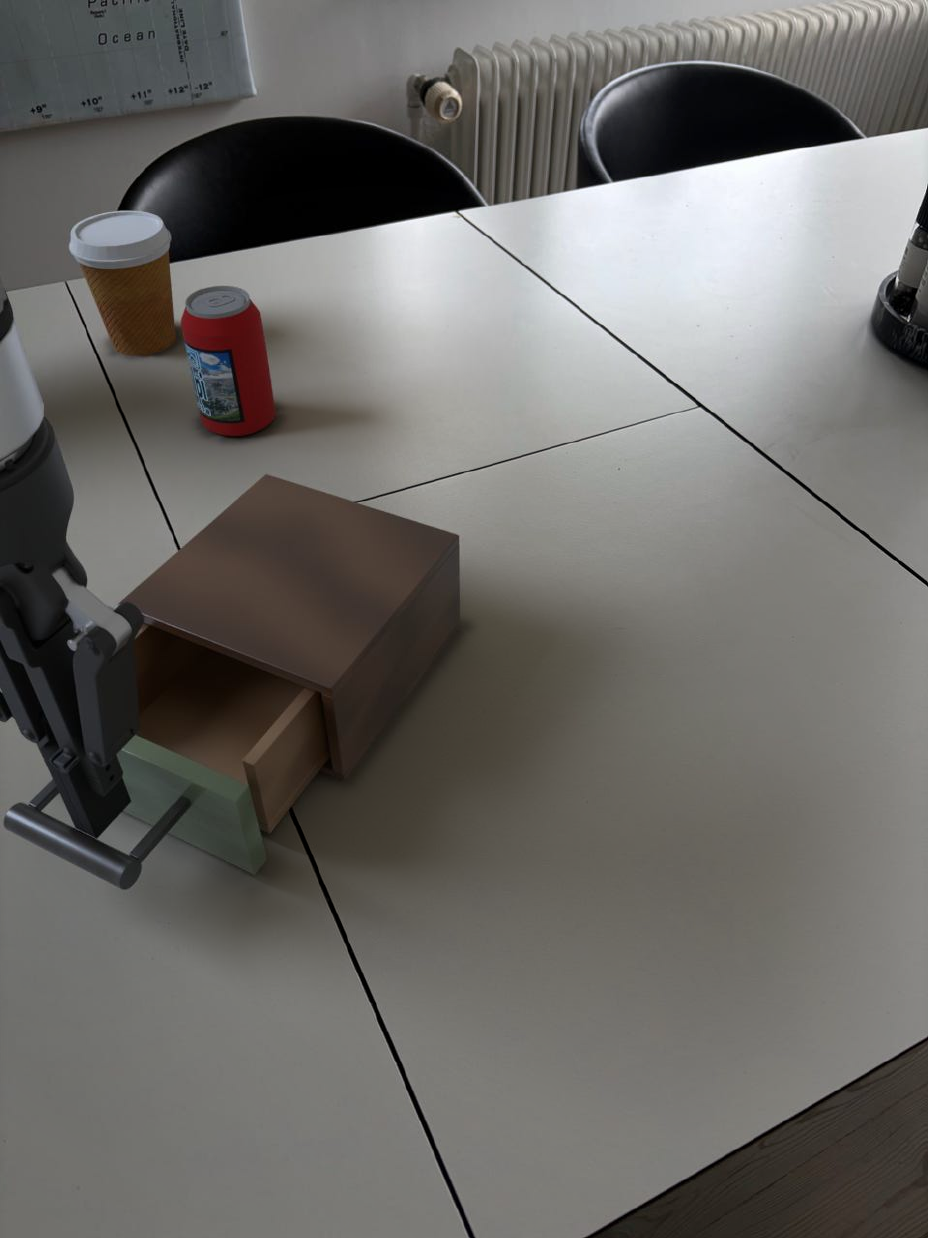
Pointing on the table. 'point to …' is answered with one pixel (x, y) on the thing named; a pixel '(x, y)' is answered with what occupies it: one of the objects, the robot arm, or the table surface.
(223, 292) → the beverage can
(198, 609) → the cabinet
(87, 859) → the drawer
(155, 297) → the disposable coffee cup
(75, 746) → the robot arm
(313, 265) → the table surface
